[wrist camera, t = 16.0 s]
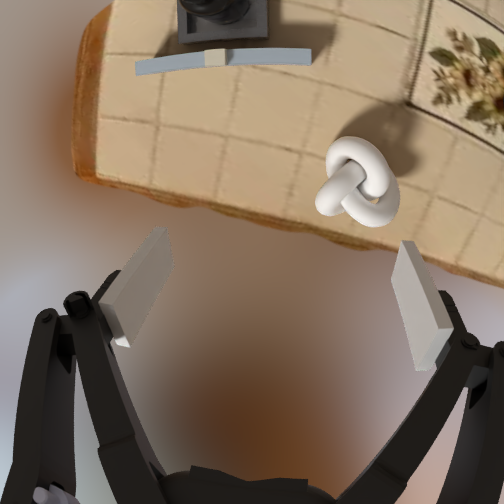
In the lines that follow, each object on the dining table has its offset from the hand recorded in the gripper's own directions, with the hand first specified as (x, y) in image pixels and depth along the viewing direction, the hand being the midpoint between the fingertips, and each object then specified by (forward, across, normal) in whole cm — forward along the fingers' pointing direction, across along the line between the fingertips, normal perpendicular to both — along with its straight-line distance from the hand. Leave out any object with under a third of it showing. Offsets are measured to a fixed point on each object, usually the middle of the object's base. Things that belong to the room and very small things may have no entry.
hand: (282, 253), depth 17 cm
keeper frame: (+29, -9, +20) cm, 36 cm away
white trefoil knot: (+29, +8, -5) cm, 30 cm away
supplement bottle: (+28, -9, +20) cm, 36 cm away
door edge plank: (+29, -9, +12) cm, 32 cm away
